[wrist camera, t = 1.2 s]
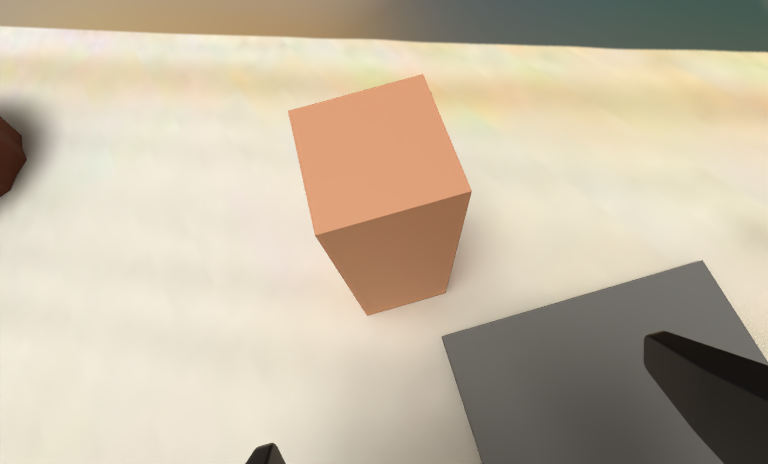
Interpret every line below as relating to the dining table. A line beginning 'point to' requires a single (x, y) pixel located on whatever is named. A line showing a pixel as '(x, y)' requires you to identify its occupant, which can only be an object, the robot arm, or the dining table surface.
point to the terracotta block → (383, 191)
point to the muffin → (9, 156)
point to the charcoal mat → (591, 374)
